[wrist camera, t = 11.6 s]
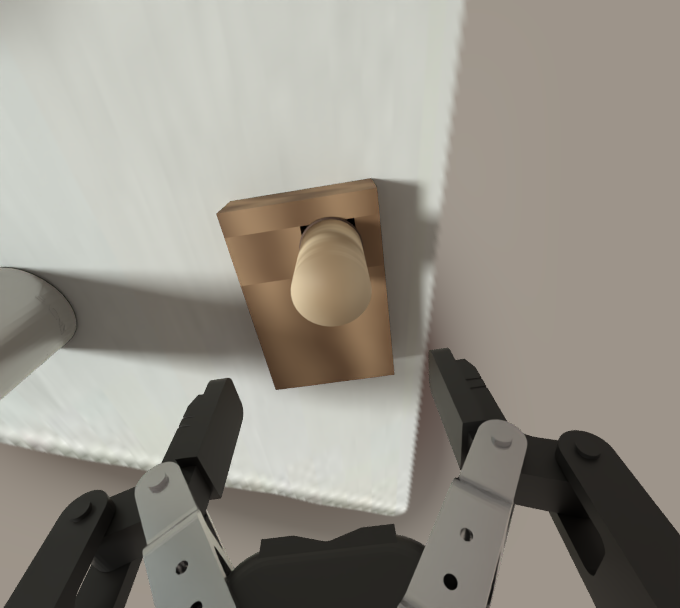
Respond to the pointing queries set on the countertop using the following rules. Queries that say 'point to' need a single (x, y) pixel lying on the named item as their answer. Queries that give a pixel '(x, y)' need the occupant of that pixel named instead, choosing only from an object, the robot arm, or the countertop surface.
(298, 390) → the countertop surface
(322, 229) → the peg
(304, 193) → the board
